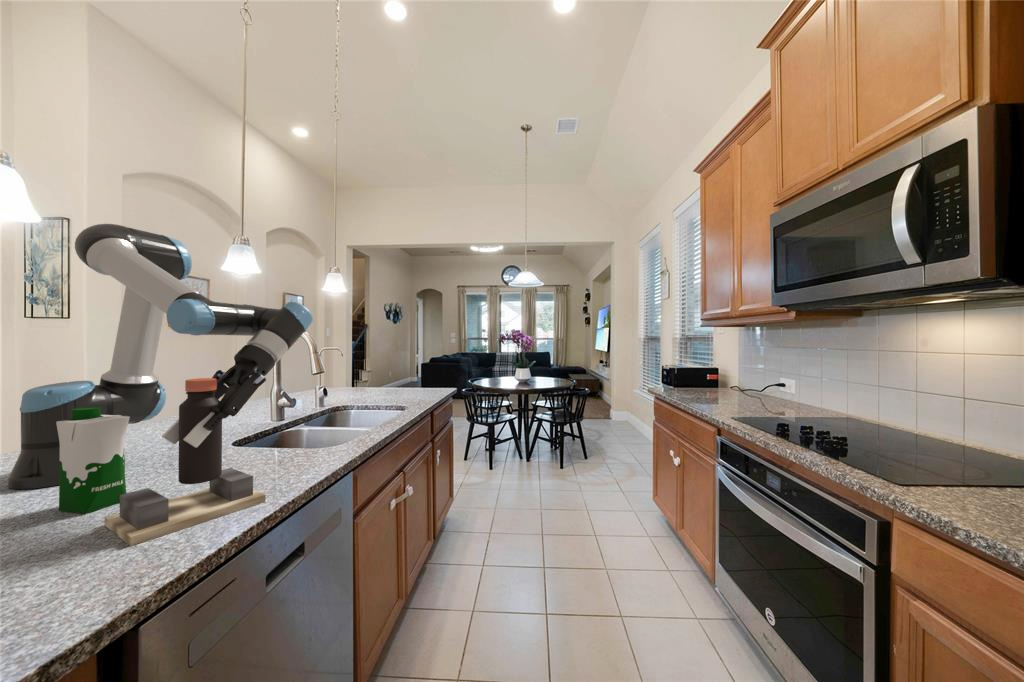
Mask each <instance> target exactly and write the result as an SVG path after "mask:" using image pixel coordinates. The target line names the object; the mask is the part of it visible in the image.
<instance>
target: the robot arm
mask: <svg viewBox="0 0 1024 682" xmlns="http://www.w3.org/2000/svg"><path fill="white" fill-rule="evenodd" d="M74 250H75V253H76V255H77V257H78V258H79V260H80V261H82V263H83V264H84V265H86V266H87V267H89V268H90V269H91V270H93V271H94V272H95V273H97V274H100V275H102V276H103V275H104V276H110V277H111V278H113V279H115V280H116V281H118V282H119V283H120V284H122V285H123V286H125V289H124V295H123V300H122V305H121V312H120V316H119V321H118V326H117V330H116V331H117V333H116V337H115V342H114V343H115V344H114V347H113V355H112V358H111V364H110V369H109V370H108V371H106V372H104V373H102V374H101V376H100V380H99V384H97V385H96V384H94V381H91V380H74V381H65V382H64V381H63V382H58V383H50V384H45V385H40V386H35V387H33V388H29V389H27V390H25V392H23V394H22V396H21V403H20V407H19V412H20V453H19V455H18V457H17V460H16V461H15V464H14V466H13V468H12V469H11V471H10V474H9V475H8V488H10V489H11V490H12V489H13V490H29V489H30V490H31V489H42V488H47V487H55V486H59V474H60V442H59V436H58V430H57V424H56V422H57V421H64V420H68V419H72V410H73V409H77V408H84V407H101V415H121V416H130V418H129V422H128V425H129V424H138V423H141V422H145V421H148V420H149V421H150V420H151V419H153V418H155V417H156V416H158V415H159V414H160V413H161V411H162V410H163V408H164V406H165V405H166V400H167V393H166V392H165V390H166V388H165V387H164V385H163V384H162V383H161V382H159V377H158V375H156V374H155V373H154V368H155V363H156V356H157V352H158V351H157V350H158V347H159V342H160V337H161V332H162V331H161V330H162V327H163V321H164V315H165V314H166V322H167V323H168V324H169V327H170V329H171V330H172V331H173V332H175V333H178V334H182V335H183V334H184V335H191V336H243V337H244V336H249V337H251V338H250V339H249V340H248V341H247V342H246V344H245V345H244V346H243V347H241V349H239V350H238V351H237V352H236V353H235V355H234V356H233V359H234V365H233V366H231V367H230V368H228V369H227V370H226V371H222V370H221V369H219V370H217V371H216V372H215V373H214V374H213V376H212V377H211V378H215V379H217V389H216V392H215V397H216V398H217V399H218V400H219V399H220V400H219V401H220V402H219V404H218V406H216V407H212V408H211V409H212V410H213V411H215V413H214V412H213V415H212V412H211V413H210V414H209V415H208V416H207V417H206V418H205V419H203V420H202V421H201V422H200V423H198V424H197V425H196V426H195V427H194V428H193V429H192V431H191V432H190V433H189V434H188V435H187V436H186V437H185V438H184V439H183V440H184V441H186V442H187V443H189V444H190V445H192V446H193V447H196V448H197V447H198V446H199V445H200V444H201V443H202V441H203V440H204V439H205V438H206V437H207V436H208V435H209V434H210V432H211V431H212V430H213V429H214V428H215V427H216V426H217V425H218V424H219V423H220V422H221V420H222V421H223V419H226V418H228V417H230V416H231V417H235V416H236V415H238V413H239V412H240V411H241V409H242V408H243V407H244V406H245V405H246V403H247V402H248V401H249V400H250V399H251V397H252V396H253V395H254V393H255V392H256V391H257V390H258V389H259V387H261V385H263V384H264V383H265V382H266V381H267V378H266V377H265V376H267V374H269V372H270V371H271V370H273V368H274V367H275V366H276V363H278V362H279V361H280V360H281V359H282V358H283V357H284V355H285V354H286V353H287V352H288V351H289V350H290V348H291V347H292V346H293V345H294V344H295V343H296V342H297V341H298V340H299V339H300V337H302V335H303V334H304V333H305V332H306V331H307V330H308V328H309V327H310V326H311V324H312V323H313V322H314V321H313V320H314V319H313V314H312V313H311V310H309V309H308V308H307V307H306V306H305V305H303V304H301V303H300V302H297V301H289V302H287V303H285V304H284V305H282V306H281V308H280V309H279V308H269V307H263V306H258V305H257V306H256V305H254V304H253V305H252V304H235V303H227V302H218V301H213V300H211V299H209V298H207V297H206V296H205V295H203V294H201V293H200V292H198V291H197V290H195V289H194V288H192V287H191V286H188V284H186V283H184V282H183V280H185V279H186V278H187V277H188V276H189V275H190V274H191V271H192V266H193V262H192V261H193V260H192V255H191V253H190V251H189V250H188V248H187V246H186V245H185V244H184V243H182V241H180V240H177V239H175V238H173V237H169V236H167V235H164V234H158V233H153V232H149V231H145V230H142V229H141V230H140V229H137V228H132V227H128V226H124V225H122V224H121V225H120V224H114V223H98V224H93V225H91V226H89V227H86V228H85V229H83V230H82V231H81V232H79V233H78V235H77V237H76V238H75V241H74ZM161 437H162V438H163V439H165V440H167V442H169V443H171V444H173V445H177V444H178V443H179V418H178V419H177V420H176V421H175V422H174V423H173V424H172V425H171V426H170V427H169V428H168V429H167V430H166V431H165V432H164V433H163V434H162V435H161Z"/></svg>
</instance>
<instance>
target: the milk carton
mask: <svg viewBox="0 0 1024 682" xmlns="http://www.w3.org/2000/svg"><path fill="white" fill-rule="evenodd" d="M129 418H130V416H121V415H101V407H84V408H77V409H73V410H72V419H68V420H64V421H57V422H56V424H57V430H58V436H59V442H60V474H59V485H58V486H59V487H58V494H59V495H58V512H65V511H67V513H73V512H76V514H82V513H84V515H87V514H89V512H90V513H92V512H95V511H97V510H101V509H104V508H107V507H110V506H113V505H116V504H118V503H119V504H120V495H121V494H126V493H127V484H126V434H127V430H128V426H129V424H128V422H129ZM86 513H87V514H86Z"/></svg>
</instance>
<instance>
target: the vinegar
mask: <svg viewBox="0 0 1024 682" xmlns="http://www.w3.org/2000/svg"><path fill="white" fill-rule="evenodd" d="M184 381H185V384H184V385H185V386H184V387H185V395H187V398H186V399H185V400H184V401H183V402H182V403H180V405H179V406H178V419H179V441H178V475H177V476H178V483H180V484H182V485H196V484H204V483H208V482H209V481H211V480H214V479H216V478H218V477H219V476H220V475H221V474H222V470H223V466H222V465H223V454H222V453H223V419H222V420H221V422H220V423H219V424H218V425H217V426H216V427H215V428H214V429H213V430H212V431H211V432H210V434H209V435H208V436H207V437H206V438H205V439H204V440H203V441H202V443H201V444H200V445H199V446H198V447H197V448H196V447H193V446H192V445H190V444H189V443H187V442H186V441H184V440H183V439H184V438H185V437H186V436H187V435H188V434H189V433H190V432H191V431H192V429H193V428H194V427H195V426H196V425H197V424H198V423H200V422H201V421H202V420H203V419H205V418H206V417H207V416H208V415H209V414H210V413H211V412H212V415H213V412H214V413H215V411H213V410H212V409H211V408H212V407H216V406H218V404H219V402H220V401H221V400H219V399H217V398H216V397H215V392H216V389H217V379H215V378H212V377H211V378H210V377H207V378H206V377H204V378H203V377H202V378H201V377H200V378H189V379H186V380H184Z"/></svg>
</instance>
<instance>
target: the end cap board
mask: <svg viewBox="0 0 1024 682" xmlns="http://www.w3.org/2000/svg"><path fill="white" fill-rule="evenodd" d="M208 482H209V487H208V488H207V489H203V490H199V491H195V492H191V493H188V494H184V495H181V496H177V497H173V498H170V499H169V498H167V497H165V496H164V495H162V494H160V493H159V492H156V491H154V490H153V489H152V488H149V487H147V488H143V489H142V488H141V489H139V490H134V491H130V492H126V494H121V495H120V502H119V513H118V512H117V513H114V514H111V515H107V516H104V526H105V527H106V528H108V529H109V530H110V531H111V532H112V531H113V532H112V533H114V534H115V535H116V534H117V535H118V536H117V535H116V536H117V537H119V538H120V539H121V540H122V539H123V540H122V541H124V542H125V543H126V544H127V543H128V544H129V547H132V546H136V545H138V543H139V544H142V543H145V542H148V541H150V540H155V539H157V538H160V537H163V536H166V535H168V534H172V533H175V532H177V531H181V530H184V529H187V528H191V527H194V526H195V525H199V524H202V523H205V522H209V521H211V520H215V519H217V518H221V517H223V516H226V515H230V514H233V513H236V512H239V511H242V510H244V509H247V508H251V507H254V506H256V505H260V504H262V503H263V504H264V503H265V501H266V494H265V493H263V492H260V491H257V490H255V489H254V475H251V474H249V473H245V472H243V471H241V470H238V469H236V468H233V467H229V468H224V469H222V474H221V475H220V476H219V477H218V478H216V479H214V480H211V481H208ZM266 502H267V501H266ZM128 544H127V545H128ZM135 544H136V545H135Z"/></svg>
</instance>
